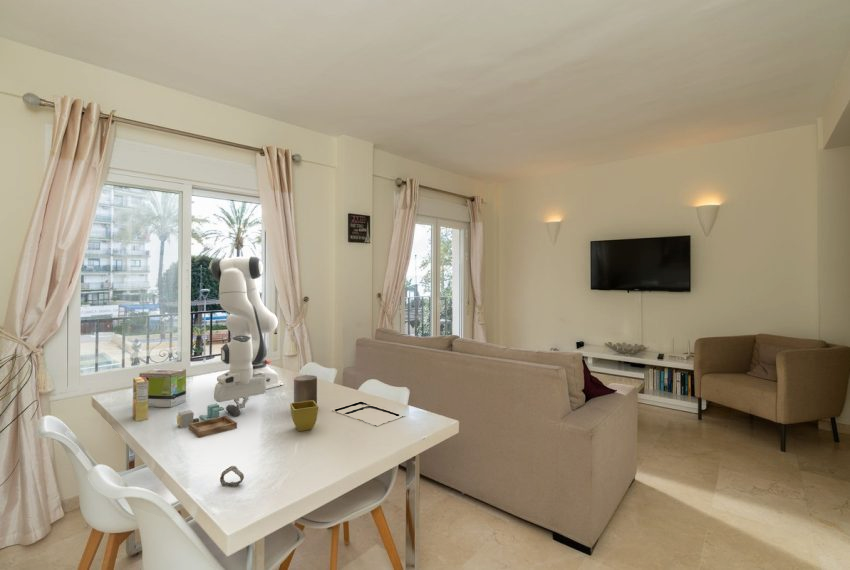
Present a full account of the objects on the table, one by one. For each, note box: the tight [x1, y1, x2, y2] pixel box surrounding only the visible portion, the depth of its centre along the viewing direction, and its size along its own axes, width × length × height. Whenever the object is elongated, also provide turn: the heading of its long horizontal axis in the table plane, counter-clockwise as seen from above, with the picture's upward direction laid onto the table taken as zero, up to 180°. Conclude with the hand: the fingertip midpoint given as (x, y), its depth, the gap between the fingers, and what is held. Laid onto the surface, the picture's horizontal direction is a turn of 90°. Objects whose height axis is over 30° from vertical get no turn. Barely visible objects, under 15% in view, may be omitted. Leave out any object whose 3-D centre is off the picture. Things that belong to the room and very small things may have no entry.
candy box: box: [132, 377, 149, 422], centre depth 159 cm, size 9×4×15 cm, turn 43°
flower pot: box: [289, 400, 319, 432], centre depth 150 cm, size 9×9×9 cm
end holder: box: [188, 415, 238, 438], centre depth 148 cm, size 13×11×2 cm
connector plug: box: [176, 409, 200, 429], centre depth 152 cm, size 7×4×5 cm, turn 136°
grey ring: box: [219, 465, 245, 488], centre depth 108 cm, size 4×6×5 cm, turn 85°
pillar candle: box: [293, 374, 318, 405], centre depth 172 cm, size 10×10×15 cm
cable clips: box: [198, 403, 225, 421], centre depth 159 cm, size 6×8×4 cm
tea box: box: [139, 368, 187, 408], centre depth 177 cm, size 15×10×15 cm
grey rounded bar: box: [225, 404, 242, 417], centre depth 165 cm, size 10×3×3 cm, turn 47°
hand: (240, 408), depth 167 cm, fingers closed
